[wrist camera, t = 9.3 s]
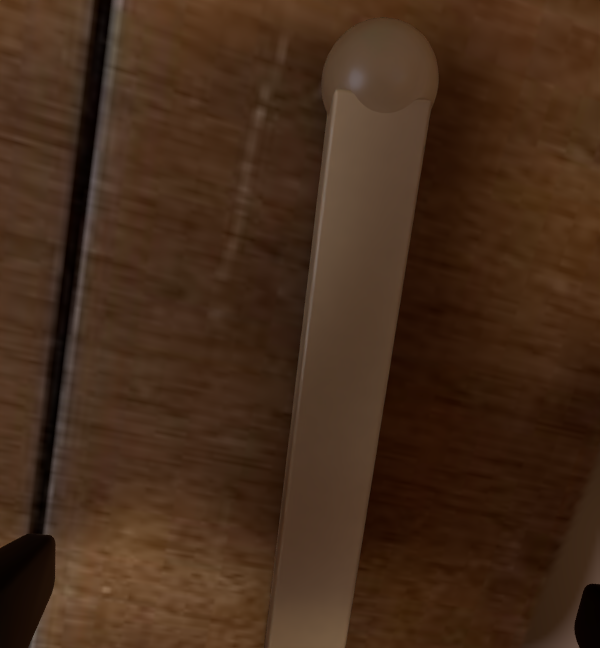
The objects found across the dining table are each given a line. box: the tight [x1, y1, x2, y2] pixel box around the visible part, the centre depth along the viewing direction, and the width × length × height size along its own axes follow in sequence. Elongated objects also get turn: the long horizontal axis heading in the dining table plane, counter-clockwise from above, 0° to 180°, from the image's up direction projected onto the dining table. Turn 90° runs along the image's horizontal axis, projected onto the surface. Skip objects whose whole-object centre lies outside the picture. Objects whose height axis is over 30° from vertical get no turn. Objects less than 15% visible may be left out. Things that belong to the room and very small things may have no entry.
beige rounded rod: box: [264, 17, 439, 648], centre depth 11 cm, size 2×19×2 cm, turn 173°
